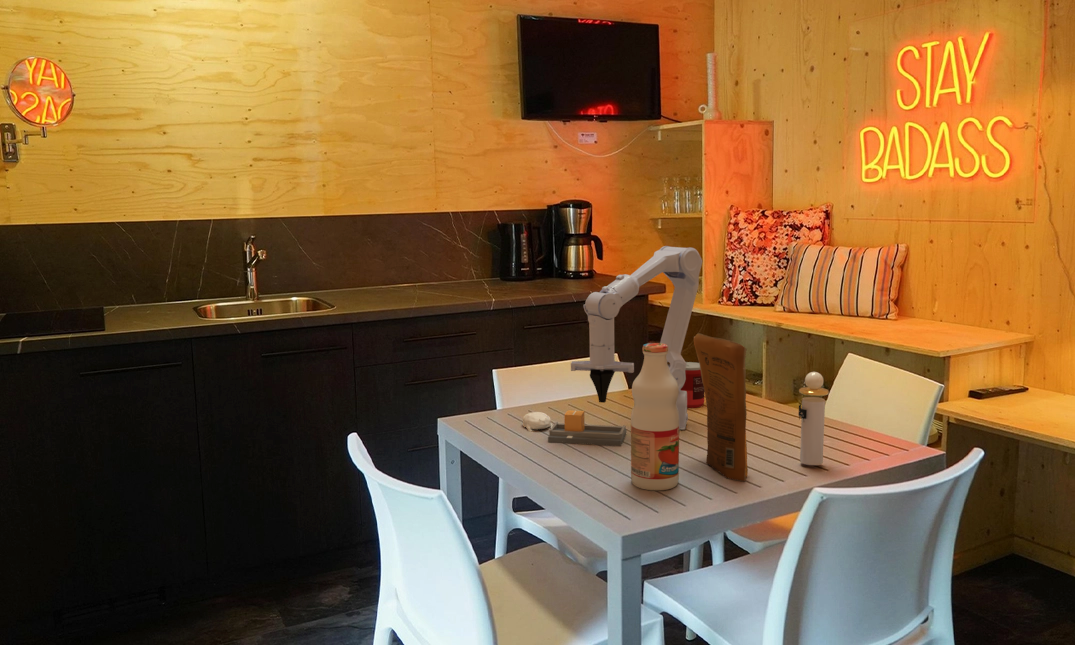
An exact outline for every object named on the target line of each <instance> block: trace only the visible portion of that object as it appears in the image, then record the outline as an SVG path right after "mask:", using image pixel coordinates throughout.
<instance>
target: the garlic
mask: <svg viewBox="0 0 1075 645" xmlns="http://www.w3.org/2000/svg"><path fill="white" fill-rule="evenodd" d="M553 425H554V424H553V423H552V421H551V417H550V416H549V415H547V413H545V412H543V411H533V412H529V413H526V414H524V415H523V418H522V426H523V427H524V428H525V427H526V429H527V431H529V432H531V431H536V430H537V431H539V430H538V429H541V430H544V429H547V428H552V426H553Z"/></svg>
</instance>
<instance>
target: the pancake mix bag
mask: <svg viewBox="0 0 1075 645" xmlns="http://www.w3.org/2000/svg"><path fill="white" fill-rule="evenodd" d="M693 346H694V349H695V352H696V356H697V359H698V363H699V364H700V370H701V376H702V382H703V386H704V399H705V403H706V412H707V414H706V420H707V421H706V425H707V428H706V429H707V438H706V440H707V450H706V451H707V452H706V464H707V465H709V466H710V467H712V468H713V469H714V470H716V471H717V472H718V473H720V474H721V475H722V476H724V478H726V479H730V480H733V481H740V482H742V481H743V482H746V481H747V479H746V478H748V474H749V473H748V470H749V468H748V447H747V431H746V430H747V429H746V428H747V402H746V397H747V388H746V384H747V383H746V357H747V356H746V354H747V348H746V347H745V346H743V345H742V344H741V343H738V342H736V341H732V340H727V339H725V338H719V337H712V336H709V335H707V334H702V333H699V332H698V333H697V334H695V336H693Z"/></svg>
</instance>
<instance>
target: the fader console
mask: <svg viewBox="0 0 1075 645" xmlns="http://www.w3.org/2000/svg"><path fill="white" fill-rule="evenodd" d="M552 425H553V426H552V428H551V427H550V428H551V429H550V428H549V431H548V432H549V433H548V434H549V435H548V437H547V442H548V443H555V444H556V443H558V444H559V443H560V444H573V443H577V444H578V445H591V444H595V445H597V446H614V447H615V446H616V447H622V445H621V444H623V442H624V440H625V437H626V436H627V434H628V433H627V432H628V430H627V428H626V427H627V426H626V425H622V426H621V425H601V424H585V423H584V431H583V432H580V431H565V422H564V423H563V422H558V421H557V422H556V421H555V422H554V424H552ZM626 433H627V434H626ZM595 445H594V446H595Z"/></svg>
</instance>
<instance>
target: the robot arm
mask: <svg viewBox="0 0 1075 645" xmlns="http://www.w3.org/2000/svg"><path fill="white" fill-rule="evenodd" d="M702 265H703V259H702V257H701V255H700V253H699V251H698V250H697V249H696V248H694V247H679V246H678V247H677V246H670V245H664V246H661V247H660V248H659V249H658V250H656V251H654V253H653V256H651V257H650V259H648V260H647V261H646V262H645V263H643V264H642V265H641V266H639V267H638V268H637V269H636V270H635V271H634V272H632V273H631V274H626V273H625V274H618V275H617V276H616V277H615V280H613V281H612V282H610V283H609V284H608V285H607V286H602V288H601V290H600V291H599V292H598V291H594V292H592V293H590V294H589V295H588V297H586V300H585V302H584V303H585V304H583V309H584V313H586V315H587V322H588V323H589V328H588V330H589V360H580V361H579V360H578V361H576V360H575V361H574V360H572V361H571V362H570V371H571V372H576V371H579V372H580V371H581V372H583V371H586V372H589V377H590V380H591V381H592V384H593V385H594V388H595V391H596V394H597V398H598V399H597V400H598V403H605V404H606V402H607V398H608V397H607V395H608V390H609V388H610V384H611V382H612V379H613V377H614V374H615V372H619V373H620V372H621V373H629V374H632V373H634V372H635V363H634V362H626V361H625V362H624V361H615V317H617V316H618V314H619V312H620V310H621V308H622V307H623V305H625V304H626V303H627V302H629V301H630V300H632V299H633V298H635V297H636V296H637V295H638V294H639V291H640V287H641V286H643V285H645V284H646V283H648V282H649V281H651V280H653V279H654V278H656V277H657V276H659V275H660V274H662V273H663V274H664V275H665V277H667V279H669V280H670V281H671V283H672V285H673V286H674V288H673V292H672V293H673V294H672V298H671V299H670V300H671V301H670V304H669V309H668V311H667V316H666V320H665V323H664V327H663V331H662V335H661V338H660V342H659V343H662V344H666V345H668V354H667V355H666V359H667V364H668V368H669V370H670V373H671V375H672V376H673V377H674V379H675V380H676V382H677V384H678V388H679V394H678V398H677V401H676V407H677V409H678V412H679V431H680V430H683V431H684V430H686V426H687V423H688V420H689V414H688V408H687V391H681V388H682V387H683V385H684V383H685V379H686V375H685V369H686V365H687V364H686V362H687V361H685V359H684V358H683V355H682V351H683V346H684V342H685V338H686V336H687V331H688V328H689V323H690V319H691V315H692V312H693V308H694V305H695V300H696V297H697V293H698V290H699V283H700V272H701V268H702Z"/></svg>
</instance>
